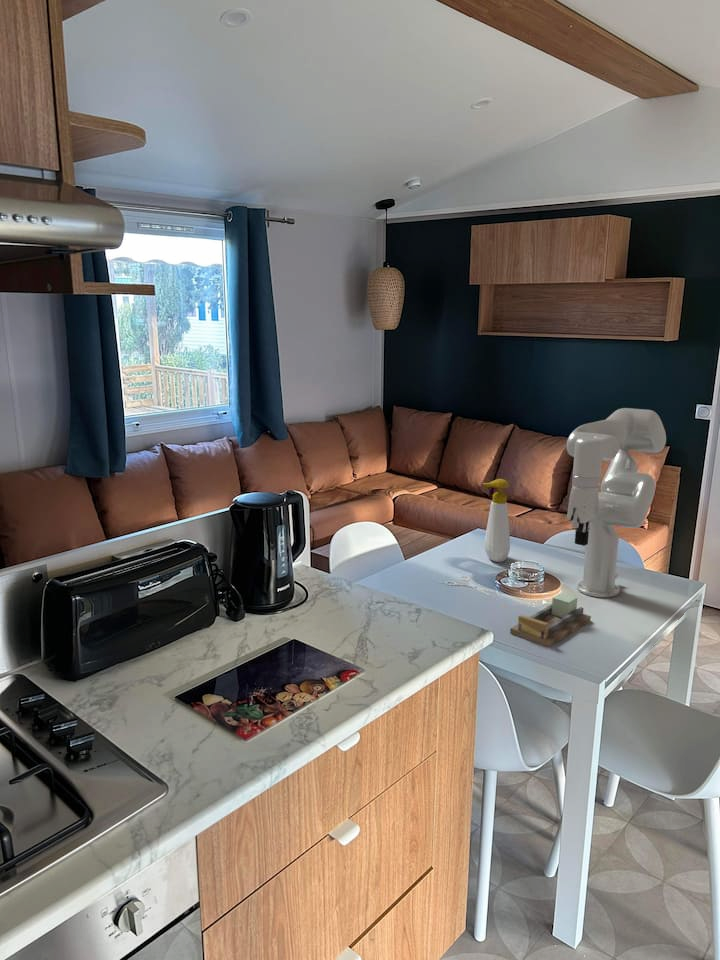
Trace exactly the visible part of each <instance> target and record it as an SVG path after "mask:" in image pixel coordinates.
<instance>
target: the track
mask: <svg viewBox="0 0 720 960" xmlns="http://www.w3.org/2000/svg"><path fill="white" fill-rule="evenodd" d="M591 619H592V616H591V615H588V614H586V613H585V614H584V607H582V606H580V607H578V608H576V610H575V611H573V612H571V613H570V614H568V615H566V616H565V617H563V618H562V617H559V616H556V615H552V604H550V605H548V606H546V607H545V608H543V609H542V610H540V611H537V612H536V613H534V614H532V615H531V616H528V615H523V614H520V615H518V620H517V622H518V623H517V624H516V625H514V626H512V627H510V631H509V632H510V633H512V634H511V635H513V634H514V636H516V637H519V638H522V639H525V640H528V641H531V642H534V643H536V644H539V645H542V646H545V647H548V648H551V647H552V646H555V644H557V643H559V642H560V641H562V640H564V639H565V638H566V637H568V636H570V635H571V634H572V633H574V632H576V631H577V630H579V629H580V628H582V627H584V626H585V625H586V624H588V623H590V622H591ZM510 633H509V634H510Z"/></svg>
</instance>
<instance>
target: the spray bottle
mask: <svg viewBox="0 0 720 960" xmlns="http://www.w3.org/2000/svg"><path fill="white" fill-rule="evenodd" d="M481 484H482V486H484V487H486V488H487V487H489V488H497V491H496V492H494V493H493V494H492V501H491V502H490V507H489V514H488V520H487V525H486V531H485V536H484V546H483V547H484V550H485V553H486V556H487V558H489V560H491V561H493V562H496V563H501V562H504V561H506V559H507V558H508V556H509V554H510V550H511V549H510V548H511V541H510V540H511V539H510V538H511V536H510V524H509V523H510V522H509V510H508V509H509V507H508V502H507V499H508V498H507V497H508V496H507V495H506V493H505V492H503V489H505V488H506V489H507V488H509V487H510V484H509V482H508V481H507V480H506V479H503V478H496V479H495V480H492V481H490V482H483V483H481Z"/></svg>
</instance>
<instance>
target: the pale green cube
mask: <svg viewBox="0 0 720 960" xmlns="http://www.w3.org/2000/svg"><path fill="white" fill-rule="evenodd" d="M551 600H552V602H551V605H552V615H556V616H559V617H562V618H563V617H565V616H566V615H568V614H570V613H571V612H573V611H575V610H576V609H578V608H577V606H578V597H576V596H573V595H569V594H566V593H563V592H560V593H558V594H557V595H555V596H553V597H552V599H551Z"/></svg>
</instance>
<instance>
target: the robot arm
mask: <svg viewBox="0 0 720 960" xmlns="http://www.w3.org/2000/svg"><path fill="white" fill-rule="evenodd" d="M666 444H667V434H666V430H665V427H664V424H663V422H662V420H661V417H660V416H659V415H658V413H657V412H656V411H654V410H651V409H643V408H641V409H640V408H631V407H629V408H628V407H622V408H618V409H617V410H615V411H613V412H612V413H611V414H610V415H609V416H608V417H607V418H605V419H602V420H598V421H593V422H588V423H584V424H581V425H579V426H578V427H576V428H574V430H572V432H571V433H570V434H569V436H568V438H567V440H566V452H567V453H568V455H569V456H570V457H573V467H572V480H571V490H570V495H569V499H568V507H567V513H566V514H567V515H566V520H567V521H568V522H571V521H572V524H571V528H574V531H575V534H574V536H575V537H574V544H576V545H579V546H582V547H583V546H585V553H584V562H583V563H584V564H583V565H584V566H583V576H582V578H583V579H582V580H581V581H579V582H578V583H577V590H578V591H579V592H580V593H582V594H583V595H587V596H590V597H596V598H612V597H616V596H618V595H619V594H620V587H619V586H618V585H616V584H615V583H616V580H617V578H619V573H617V562H618V551H619V542H620V541H619V535H618V533H617V531H616V528H615V527H616V526H617V527H622V528H626V529H627V528H629V529H638V528H640V527H642V525H643V524H644V522H645V521H646V519H647V518H646V517H647V516H648V515H647V514H648V513H649V509H650V508H651V505H652V503H653V500H654V497H655V494H656V493H655V492H656V480H655V479H654V477H653V476H652V475H650V474H648V473H643V472H638V470H639V466H638V462H637V461H636V459H635V457H634V456H633V455H632V454H631V453H630V452H629V451H632V452H640V453H641V452H643V453H649V454H650V453H651V454H658V453H660V452H662V451H663V449H664V448H665V446H666ZM602 462H610V464H609V466H608V468H607V470H606V472H605V473H604V476H603V478H601V477H602V476H601V475H602V467H603V466H602V464H603V463H602ZM601 479H602V482H601ZM599 489H600V491H599Z"/></svg>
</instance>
